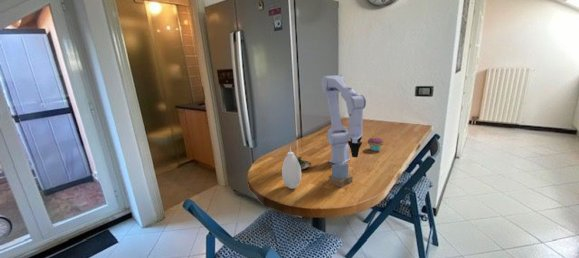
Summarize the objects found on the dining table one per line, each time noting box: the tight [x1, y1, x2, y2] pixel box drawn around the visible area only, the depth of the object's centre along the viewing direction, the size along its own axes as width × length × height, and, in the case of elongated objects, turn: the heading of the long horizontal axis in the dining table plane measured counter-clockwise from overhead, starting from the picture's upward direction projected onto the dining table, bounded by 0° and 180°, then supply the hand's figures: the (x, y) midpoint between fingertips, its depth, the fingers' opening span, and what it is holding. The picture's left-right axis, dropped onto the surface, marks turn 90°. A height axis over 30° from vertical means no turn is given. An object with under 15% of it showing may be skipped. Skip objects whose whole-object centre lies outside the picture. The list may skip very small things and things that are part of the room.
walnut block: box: [328, 174, 354, 188], centre depth 107 cm, size 7×7×3 cm
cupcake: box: [367, 129, 385, 152], centre depth 143 cm, size 9×8×12 cm
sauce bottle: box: [281, 146, 302, 190], centre depth 102 cm, size 8×8×18 cm
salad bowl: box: [294, 152, 312, 171], centre depth 124 cm, size 12×12×8 cm
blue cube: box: [331, 162, 349, 180], centre depth 106 cm, size 5×5×5 cm
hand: (355, 153), depth 111 cm, fingers open, 7 cm apart
